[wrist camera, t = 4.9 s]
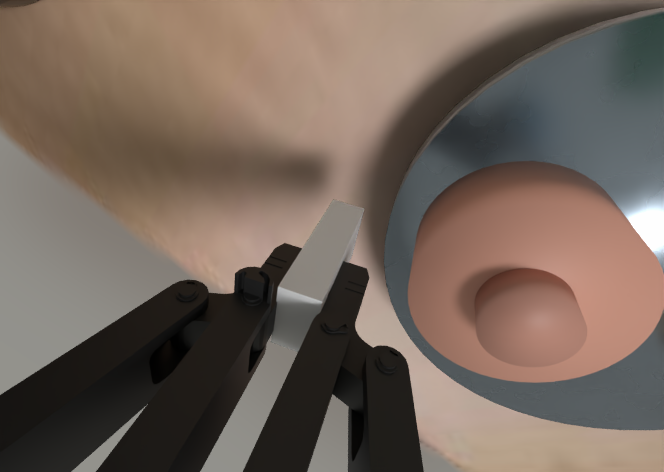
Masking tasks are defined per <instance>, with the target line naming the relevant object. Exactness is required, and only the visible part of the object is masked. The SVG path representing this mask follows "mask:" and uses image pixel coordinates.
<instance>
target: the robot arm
mask: <svg viewBox="0 0 664 472" xmlns="http://www.w3.org/2000/svg"><path fill="white" fill-rule="evenodd" d="M36 1H38V0H0V7H17V6H24V5H28V4H31V3H34V2H36ZM363 212H364V208H361V207H358V206H354V205H351V204H348V203H344V202H341V201H338V200H334V199H333V201H332V202H331V204H330V206H329V207H328V209H327V210H326V212H325V213H324V215H323V217H322V218H321V220H320V221H319V223H318V224H317V226H316V228H315V229H314V231H313V232H312V234H311V235H310V237H309V239H308V240H307V242H306V243H305V245H304V247H303V248H299V247H296V246H292V245H289V244H286V243H284V244H282V245H280V246H278V247H277V248H275V249H274V251H273V252H272V253H271V255H270V256H269V257H268V259H267V260H266V261H265V264H263V265H262V267H261V268H259V267H246V268H243V269H240V270H239V271H238V272H236V273H235V287H234V293H231V294H218V293H209V292H208V289H207V287H206V286H205V285H204V284H203V283H201V282H199V281H196V280H184V281H179V282H177V283H175V284H173V285H171V286H170V287H168V288H166V289H165V290H163V291H162V292H160V293H159V294H157V295H156V296H154V297H153V298H151V299H149V300H148V301H146V302H145V303H143V304H142V305H140V306H138V307H137V308H135V309H134V310H132V311H131V312H129V313H127V314H126V315H124V316H123V317H121V318H120V319H118V320H117V321H115V322H113V323H112V324H110V325H109V326H107V327H106V328H104V329H103V330H101V331H99V332H98V333H96V334H95V335H93V336H92V337H90V338H88V339H87V340H85V341H84V342H82V343H81V344H79V345H78V346H76V347H74V348H73V349H71V350H70V351H68V352H67V353H65V354H64V355H62V356H60V357H59V358H57V359H56V360H54V361H53V362H51V363H50V364H48V365H47V366H45V367H43V368H42V369H40V370H39V371H37V372H35V373H34V374H32V375H31V376H29V377H28V378H26V379H25V380H23V381H21V382H20V383H18V384H17V385H15V386H14V387H12V388H10V389H9V390H7V391H6V392H4V393H3V394H1V395H0V472H71V471H72V470H73V469H75V468H76V467H77V466H78V465H79V464H80V463H81V462H83V461H84V460H85V459H86V458H87V457H88V456H89V455H90V454H92V453H93V452H94V451H95V450H96V449H97V448H98V447H99V446H101V445H102V444H103V443H104V442H105V441H106V440H107V439H109V437H111V436H112V435H113V434H114V433H115V432H116V431H117V430H119V429H120V428H121V427H122V426H123V425H124V424H125V423H127V422H128V421H129V420H130V419H131V418H132V417H133V416H135V415H136V414H137V413H138V412H139V411H140V410H141V409H142V408H144V407H145V406H146V405H147V404H148V405H147V406H146V407H145V409H144V410H143V411H142V413H141V414H140V415H139V417H138V418H137V419H136V420H135V422H134V423H133V424H132V426H131V427H130V428H129V430H128V431H127V432H126V433H125V435H124V436H123V437H122V439H121V440H120V441H119V442H118V444H117V445H116V446H115V448H114V449H113V450H112V452H111V453H110V454H109V456H108V457H107V458H106V459H105V461H104V462H103V463H102V465H101V466H100V467H99V468H98V470H97V471H96V472H200V471H201V469H202V467H203V465H204V464H205V462H206V460H207V458H208V456H209V455H210V453H211V451H212V449H213V447H214V445H215V443H216V442H217V440H218V438H219V436H220V434H221V433H222V431H223V429H224V427H225V425H226V423H227V422H228V420H229V418H230V416H231V414H232V412H233V411H234V409H235V407H236V405H237V403H238V401H239V399H240V398H241V396H242V394H243V392H244V390H245V389H246V387H247V385H248V383H249V381H250V380H251V378H252V376H253V374H254V372H255V370H256V369H257V367H258V365H259V363H260V361H261V359H262V358H263V356H264V354H265V350H266V344H267V341H268V340H269V338H270V336H271V334H272V337H271V342H272V343H275V344H278V345H280V346H283V347H286V348H288V349H291V350H294V351H297V352H298V354H297V356H296V358H295V360H294V362H293V364H292V367H291V369H290V371H289V373H288V375H287V377H286V380H285V382H284V384H283V386H282V388H281V390H280V392H279V395H278V397H277V399H276V401H275V403H274V405H273V408H272V410H271V412H270V414H269V416H268V419H267V421H266V423H265V425H264V427H263V429H262V431H261V434H260V436H259V438H258V440H257V442H256V444H255V447H254V449H253V451H252V453H251V455H250V457H249V460H248V462H247V464H246V466H245V468H244V470H243V472H307V471H308V468H309V464H310V461H311V458H312V455H313V452H314V449H315V446H316V443H317V440H318V437H319V434H320V430H321V427H322V424H323V421H324V418H325V415H326V412H327V409H328V406H329V403H330V400H331V397H332V394H333V395H335V396H336V397H337V398H338V399H340V400H341V401H342V402H344V403H345V404H346V405H347V406H349V412H348V414H349V415H348V420H349V421H348V472H424V471H423V464H422V457H421V450H420V443H419V436H418V429H417V423H416V416H415V409H414V402H413V395H412V388H411V382H410V375H409V368H408V364H407V361H406V359H405V358H404V357H403V355H402V354H401V353H400V352H398V351H397V350H395V349H394V348H391V347H388V346H376V347H374V348H373V347H371V346H370V345H368V344H367V343H365V342H364V341H363V340H362V339H361V338H360V337H359V335H358V334H357V332H356V329H355V322H356V319H357V316H358V312H359V309H360V306H361V303H362V300H363V297H364V293H365V290H366V287H367V284H368V280H369V275H368V271H367V269H366V268H363V267H360V266H357V265H354V264H351V263H349V262H350V259H351V257H352V254H353V250H354V246H355V243H356V239H357V235H358V231H359V227H360V224H361V220H362V216H363Z"/></svg>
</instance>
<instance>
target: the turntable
mask: <svg viewBox="0 0 664 472" xmlns="http://www.w3.org/2000/svg"><path fill="white" fill-rule="evenodd" d="M515 161H537V162H546V163H552V164H557V165H561V166H564V167H567V168H570V169H573V170H575V171H577V172H579V173H581V174H583V175H585V176H587V177H589V178H590V179H592V180H593V181H595V182H596V183H597V184H598V185H600V186H601V187H602V188H603V189H604V190H605V191H606V192H607V193H608V194H609V196H610V197H611V198H612V199H613V201H614V202H615V203H616V205H617V206H618V207H619V209H620V210H621V211H622V212H623V214H624V215H625V216H626V218H627V219H628V220H629V221H630V223H631V224H632V225H633V227H634V228H635V229H636V231H637V232H638V233H639V234H640V236H641V237H642V238H643V240H644V241H645V242H646V243H647V245H648V246H649V247H650V249H651V250H652V251H653V253H654V254H655V255H656V257H657V259H658V261H659V263H660V265H661V267H662V270H663V273H664V8H657V9H650V10H644V11H640V12H637V13H633V14H629V15H625V16H621V17H618V18H614V19H610V20H606V21H602V22H599V23H596V24H594V25H591V26H588V27H586V28H583V29H581V30H578V31H575V32H573V33H570V34H568V35H565V36H562V37H560V38H557V39H555V40H553V41H551V42H549V43H547V44H545V45H543V46H541V47H540V48H538V49H536V50H534V51H532V52H530V53H528V54H526V55H524V56H522V57H520V58H518V59H517V60H515V61H514V62H512V63H511V64H509V65H508V66H506V67H505V68H503V69H502V70H500V71H499V72H497V73H496V74H494V75H493V76H491V77H490V78H488V79H487V80H485V81H484V82H483V83H482V84H480V85H479V86H478V87H477V88H476V89H474V90H473V91H472V92H471V93H470V94H468V95H467V96H466V97H465V98H464V99H462V100H461V101H460V102H459V103H458V104H457V105H456V106H455V107H454V108H453V109H452V110H451V111H450V112H449V113H448V114H447V115H446V116H445V117H444V119H443V120H442V121H441V122H440V123H439V124H438V125H437V126H436V127H435V128H434V130H433V131H432V132H431V134H430V135H429V136H428V138H427V139H426V141H425V142H424V143H423V145H422V146H421V147H420V149H419V150H418V151H417V153H416V155H415V157H414V159H413V161H412V162H411V164H410V166H409V168H408V170H407V171H406V173H405V175H404V178H403V180H402V183H401V186H400V188H399V191H398V193H397V196H396V199H395V202H394V205H393V209H392V212H391V215H390V220H389V224H388V229H387V234H386V238H385V252H384V267H385V277H386V284H387V288H388V292H389V296H390V299H391V303H392V305H393V308H394V310H395V312H396V314H397V317H398V319H399V321H400V323H401V324H402V326H403V328H404V329H405V331H406V333H407V334H408V336H409V337H410V339H411V340H412V341H413V342H414V344H415V345H416V346H417V347H418V349H419V350H420V351H421V352H422V353H423V354H424V355H425V356H426V357H427V358H428V359H429V360H430V361H431V362H432V363H433V364H434V365H435V366H436V367H437V368H438V369H440V370H441V371H442V372H444V373H445V374H446V375H448V376H449V377H450V378H451V379H453V380H454V381H456V382H457V383H459V384H461V385H462V386H464V387H465V388H467V389H469V390H470V391H472V392H474V393H476V394H478V395H480V396H482V397H484V398H486V399H488V400H490V401H492V402H494V403H497V404H499V405H502V406H504V407H507V408H509V409H512V410H515V411H517V412H521V413H524V414H528V415H531V416H534V417H538V418H541V419H546V420H550V421H555V422H560V423H564V424H570V425H577V426H584V427H591V428H603V429H616V430H663V429H664V310H663V312H662V315H661V318H660V320H659V322H658V324H657V325H656V327H655V329H654V330H653V332H652V333H651V334H650V335H649V337H648V338H647V339H646V340H645V341H644V342H643V343H642V344H641V345H640V346H639V347H638V348H637V349H636V350H635V351H633V352H632V353H631V354H629V355H628V356H626V357H625V358H623V359H622V360H620V361H618V362H617V363H615V364H613V365H611V366H609V367H607V368H604V369H602V370H600V371H597V372H595V373H591V374H588V375H585V376H582V377H578V378H573V379H568V380H562V381H554V382H538V383H532V382H516V381H507V380H502V379H497V378H492V377H489V376H485V375H482V374H478V373H476V372H473V371H471V370H468V369H466V368H464V367H462V366H460V365H458V364H456V363H454V362H452V361H451V360H449V359H447V358H446V357H444V356H443V355H442V354H440V353H439V352H438V351H437V350H435V349H434V348H433V347H432V346H431V345H430V344H429V343H428V342H427V341H426V339H425V338H424V337H423V336H422V334H421V333H420V332H419V330H418V328H417V327H416V325H415V323H414V321H413V318H412V316H411V313H410V309H409V304H408V285H409V278H410V272H411V266H412V260H413V254H414V248H415V242H416V237H417V232H418V228H419V225H420V222H421V220H422V218H423V215H424V214H425V212H426V210H427V209H428V207H429V206H430V204H431V203H432V202H433V201H434V200H435V198H436V197H437V196H438V195H439V194H440V193H441V192H442V191H443V190H445V189H446V188H447V187H448V186H450V185H451V184H452V183H454V182H455V181H457V180H458V179H460V178H462V177H464V176H466V175H468V174H469V173H472V172H474V171H477V170H479V169H482V168H485V167H488V166H492V165H496V164H501V163H507V162H515Z"/></svg>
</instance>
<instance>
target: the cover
mask: <svg viewBox="0 0 664 472" xmlns="http://www.w3.org/2000/svg"><path fill="white" fill-rule="evenodd" d="M408 304H409V309H410V313H411V316H412V318H413V321H414V323H415V325H416V327H417V328H418V330H419V332H420V333H421V334H422V336H423V337H424V338H425V339H426V341H427V342H428V343H429V344H430V345H431V346H432V347H433V348H434V349H435V350H437V351H438V352H439V353H440V354H442V355H443V356H444V357H446V358H447V359H449V360H451V361H452V362H454V363H456V364H458V365H460V366H462V367H464V368H466V369H468V370H471V371H473V372H476V373H478V374H482V375H485V376H489V377H492V378H497V379H502V380H507V381H516V382H532V383H538V382H554V381H562V380H568V379H573V378H578V377H582V376H585V375H588V374H591V373H595V372H597V371H600V370H602V369H604V368H607V367H609V366H611V365H613V364H615V363H617V362H618V361H620V360H622V359H623V358H625V357H626V356H628V355H629V354H631V353H632V352H633V351H635V350H636V349H637V348H638V347H639V346H640V345H641V344H642V343H643V342H644V341H645V340H646V339H647V338H648V337H649V335H650V334H651V333H652V332H653V330H654V329H655V327H656V325H657V324H658V322H659V320H660V318H661V315H662V312H663V310H664V273H663V270H662V267H661V265H660V263H659V261H658V259H657V257H656V255H655V254H654V253H653V251H652V250H651V249H650V247H649V246H648V245H647V243H646V242H645V241H644V240H643V238H642V237H641V236H640V234H639V233H638V232H637V231H636V229H635V228H634V227H633V225H632V224H631V223H630V221H629V220H628V219H627V218H626V216H625V215H624V214H623V212H622V211H621V210H620V209H619V207H618V206H617V205H616V203H615V202H614V201H613V199H612V198H611V197H610V196H609V194H608V193H607V192H606V191H605V190H604V189H603V188H602V187H601V186H600V185H598V184H597V183H596V182H595V181H593V180H592V179H590V178H589V177H587V176H585V175H583V174H581V173H579V172H577V171H575V170H573V169H570V168H567V167H564V166H561V165H557V164H552V163H546V162H537V161H515V162H507V163H501V164H496V165H492V166H488V167H485V168H482V169H479V170H477V171H474V172H472V173H469V174H468V175H466V176H464V177H462V178H460V179H458V180H457V181H455V182H454V183H452V184H451V185H450V186H448V187H447V188H446V189H445V190H443V191H442V192H441V193H440V194H439V195H438V196H437V197H436V198H435V200H434V201H433V202H432V203H431V204H430V206H429V207H428V209H427V210H426V212H425V214H424V215H423V218H422V220H421V222H420V225H419V228H418V232H417V237H416V242H415V248H414V254H413V260H412V266H411V272H410V278H409V285H408Z"/></svg>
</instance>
